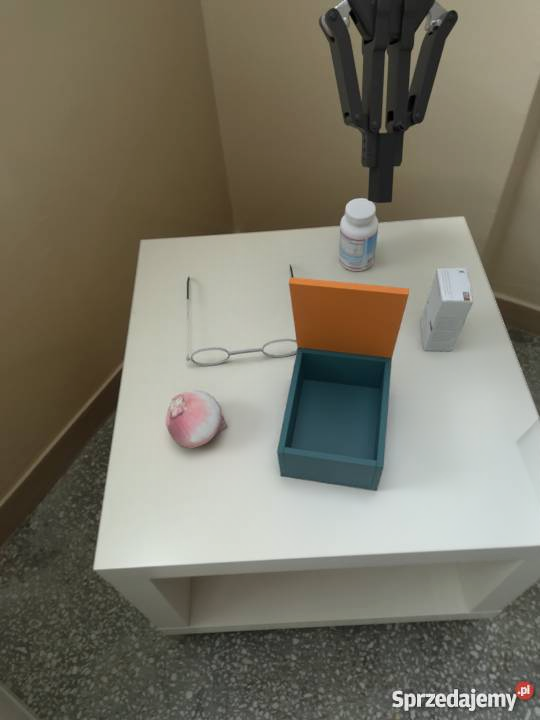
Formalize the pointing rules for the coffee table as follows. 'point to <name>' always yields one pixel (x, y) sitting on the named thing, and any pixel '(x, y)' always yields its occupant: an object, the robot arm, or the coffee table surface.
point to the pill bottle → (358, 235)
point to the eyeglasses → (240, 350)
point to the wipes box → (336, 418)
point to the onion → (194, 418)
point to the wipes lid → (347, 316)
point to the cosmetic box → (446, 309)
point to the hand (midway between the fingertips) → (379, 201)
